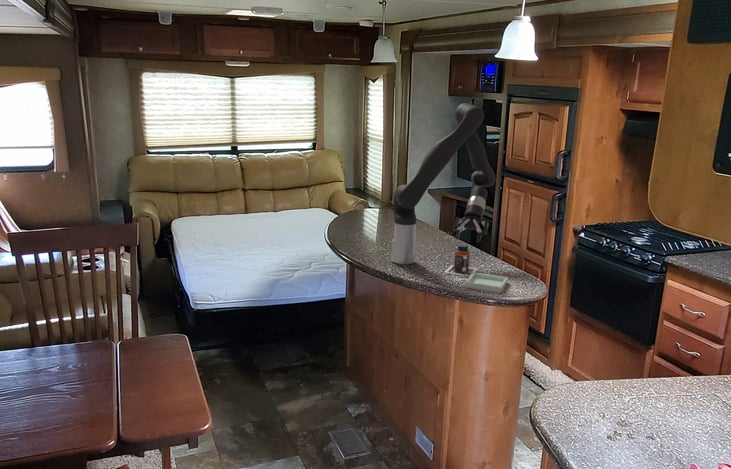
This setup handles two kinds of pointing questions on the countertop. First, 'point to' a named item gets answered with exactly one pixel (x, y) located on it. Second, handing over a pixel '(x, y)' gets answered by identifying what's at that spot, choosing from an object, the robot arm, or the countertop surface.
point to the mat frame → (459, 274)
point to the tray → (486, 282)
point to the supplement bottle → (462, 259)
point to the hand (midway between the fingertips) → (467, 240)
